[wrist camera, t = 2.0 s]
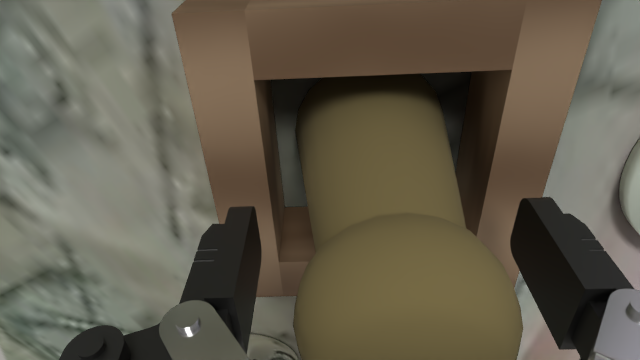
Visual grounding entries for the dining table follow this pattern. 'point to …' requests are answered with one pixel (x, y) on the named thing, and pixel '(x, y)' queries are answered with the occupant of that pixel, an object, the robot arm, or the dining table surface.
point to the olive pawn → (392, 233)
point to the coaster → (631, 188)
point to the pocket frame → (382, 59)
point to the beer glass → (268, 349)
